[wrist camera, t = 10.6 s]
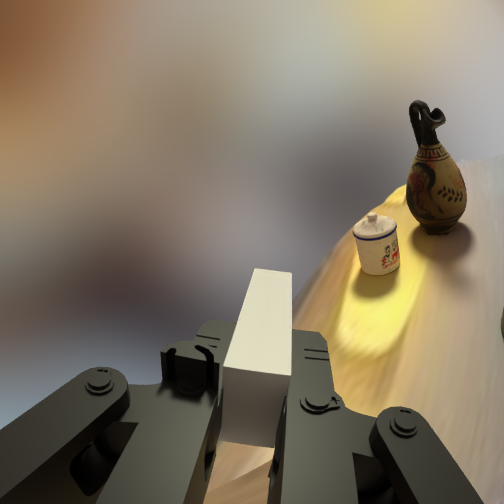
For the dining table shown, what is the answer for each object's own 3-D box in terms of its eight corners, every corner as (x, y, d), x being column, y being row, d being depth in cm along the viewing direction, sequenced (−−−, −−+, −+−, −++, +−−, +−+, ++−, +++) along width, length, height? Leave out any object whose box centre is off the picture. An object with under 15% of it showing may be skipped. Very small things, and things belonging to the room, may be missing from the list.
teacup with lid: (390, 280, 56) (382, 226, 51) (352, 272, 63) (340, 222, 58) (412, 248, 62) (406, 199, 57) (378, 244, 69) (369, 198, 64)
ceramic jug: (480, 228, 57) (465, 97, 45) (428, 248, 60) (405, 108, 47) (445, 205, 72) (426, 96, 60) (398, 220, 75) (373, 106, 63)
